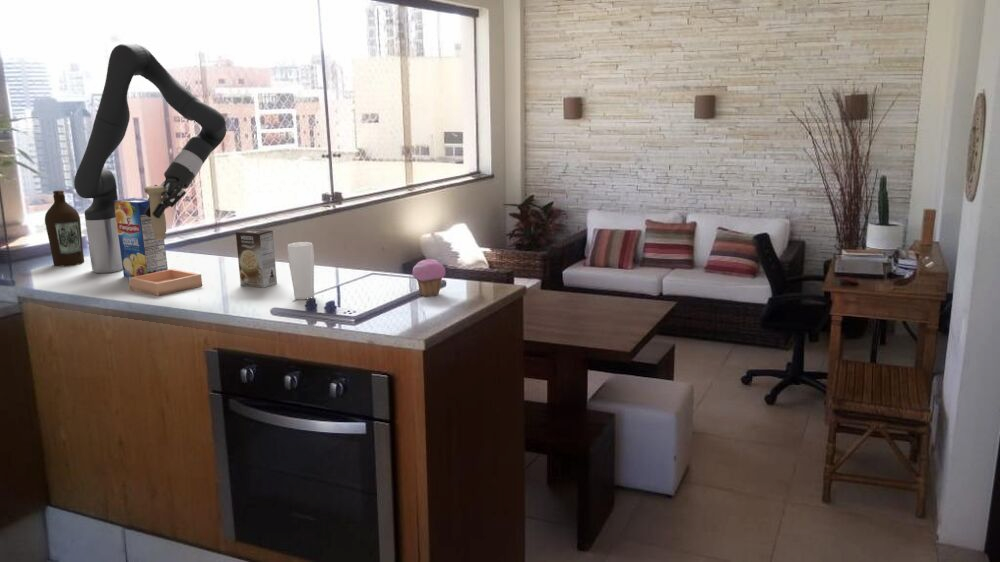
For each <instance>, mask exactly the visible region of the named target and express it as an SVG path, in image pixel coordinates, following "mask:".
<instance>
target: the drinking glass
mask: <svg viewBox="0 0 1000 562" xmlns="http://www.w3.org/2000/svg"><path fill="white" fill-rule="evenodd" d="M287 257H288V266H289V270H290V276H291V282H292V286H293V287H292V288H293V297H294V299H296V300H298V301H306V300H305V299H307V298H311V297H313V298H314V297H315V258H314V257H315V253H314V245H313V242H309V241H296V242H292V243H289V244H287ZM311 299H312V298H311ZM307 300H308V299H307Z"/></svg>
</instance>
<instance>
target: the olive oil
mask: <svg viewBox="0 0 1000 562" xmlns="http://www.w3.org/2000/svg"><path fill="white" fill-rule="evenodd" d="M64 191H65V190H63V189H59V190H53V191H52V193H53V196H52V197H53V203H52V204H51V206H50V208H49V209H48V210H47V211H46V212H45V216H44V224H45V227H46V228H45V229H46V233H47V237H48V241H49V243H48V244H49V248H50V251H51V259H52V263H53V265H54V267H55V266H56V267H67V266H69V267H71V266H76V265H80V264H83V263H84V262H85V255H84V246H83V245H84V244H83V237H82V224H81V217H80V214H79V211H77V210H76V209H75V208H74V207H73V206H72V205H70V204H69V203H68V202H67V201H66V196H65V194H64Z"/></svg>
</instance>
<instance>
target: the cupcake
mask: <svg viewBox="0 0 1000 562" xmlns="http://www.w3.org/2000/svg"><path fill="white" fill-rule="evenodd" d="M445 276H446V268H445V266H444V265H443V264H442V263H441V262H439V261H438V260H436V259H434V258H432V259H431V258H427V259H423V260H420V261H418V262H417V263H416V264H415V265H414V266H413V268H412V277H413V278H414V279H416V280H417V283H418V284H417V285H418V292H419V294H420V295H421V296H423V297H429V296H438V295H439V293H440V290H441V284H442V280H443V278H444V277H445Z"/></svg>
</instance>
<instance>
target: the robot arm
mask: <svg viewBox="0 0 1000 562" xmlns="http://www.w3.org/2000/svg"><path fill="white" fill-rule="evenodd" d="M105 76H106V77H105V82H104V86H103V90H102V94H101V97H100V101H99V105H98V107H97V110H96V114H95V118H94V121H93V125H92V129H91V132H90V136H89V139H88V142H87V145H86V148H85V152H84V154H83V156H82V159H81V160H80V163H79V166H78V168H77V169H76V172H75V176H74V181H73V187H74V190H75V192H76V194H77V196H79V197H80V198H83V199H92V203H91V204H90V206H89V207H88V208H87V209H85V211H84V218H85V219H84V220H85V227H86V232H87V233H86V234H87V239H88V240H87V241H88V242H87V244H88V249H89V250H88V251H89V257H90V265H91V270H92V273H96V274H105V273H106V274H108V273H114V272H116V273H117V272H118V271H119V272H120V271H123V266H122V259H121V252H120V244H119V237H118V230H117V222H116V215H115V208H114V201H115V200H118V191H117V190H118V188H117V181H116V178H115V176H114V174H113V172H112V171H111V170H110V169H108V168H106V167H105V164H106V162H107V161H108V159H109V157H110V156H111V155H112V153H114V151H115V150H116V149H117V148H118V147H119V146H120V144H121V143H122V141H123V140H124V138H125V136H126V134H127V130H128V126H129V122H130V119H131V118H130V115H131V113H130V108H129V103H128V92H129V88H130V85H131V82H132V80H133V77H134V76H141V77H143V78H144V79H145V80H148V82H150V83H152V84H153V85H154V86H155V87H156V89H158V90H159V92H160V93H161V95H162V97H163V98H164V100H165V101H166V103H167V104H168V105H169V106H170V108H172V109H173V110H174V111H176V112H177V113H178V114H180V115H181V116H182V117H183V118H184V119H186V120H188V121H191V122H193V121H194V122H196V123H197V124H198V125H199V126H201V130H200V131H199V133H198V134H197V135H196V136H192V137H190V139H189V140H188V141H187V142H186V144H185V145H184V146H183V148H182V149H181V150H180V152H179V153H178V154H177V155H176V156H175V157H174V159H173V160H172V162H171V163H170V165H169V166H168V167H167V169H166V170H165V172H164V174H163V176H164V179H165V180H164V181H163V182H162V183H161V184H160V186H164V189H165V191H164V192H163V193H162V194H161V196H162V200H161V202H160V204H158V206H157V207H156V209H155V210H154V211H153V213H152V215H153V216H154V217H156V218H160V216H161V215H162V213H163V212H164V213H165V210H166V209H169V208H173V207H174V206H175V205H177V203H178V202H179V201H181V199H182V198H183V197H184V196H185V195H186V193H187V192H186V191H185V190H186V189H188V188H189V187H190V185H191V184H192V182H193V181H194V180H195V178H196V176H197V175H198V173H199V172H200V171H201V168H202V166H203V165H204V163H205V162H206V160H207V159H208V158H209V156H210V154H211V153H212V152H213V151H214V150H215V149H216V148H217V147H218V146H219V145H221V143H222V142H223V141H224V139H225V137H226V135H227V123H226V119H225V117H224V116H223V115H222V113H221V112H219V111H218V110H217V109H216V108H214V107H213V106H210V105H208V104H207V103H205V102H203V101H201V100H200V99H199V98H198V97H196V96H195V94H193V93H192V92H191V91H189V90H188V89H187V88H186V87H184V85H182V84H181V83H180V82H179V81H178V80H177V79H176V78H175V77H174V76H172V75H171V74H170V72H169V71H168V70H167V69H166V68H165V67H164V66H163V65H162V64H161V62H159V61H158V59H157V58H156V56H154V54H153V53H152V52H151V51H150V50H149V49H147V48H146V46H144V45H142V44H137V43H122V44H118V45H116V46H114V47H113V49H112V50H111V52H110V55H109V58H108V65H107V69H106V75H105ZM153 186H158V185H157V184H154V185H153ZM147 199H148V200H149V197H148V198H147ZM149 201H150V200H149ZM144 214H145V215H147V216H148V217H151V213H150V205H149V206H148V208H147V209H146V210H145V212H144Z"/></svg>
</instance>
